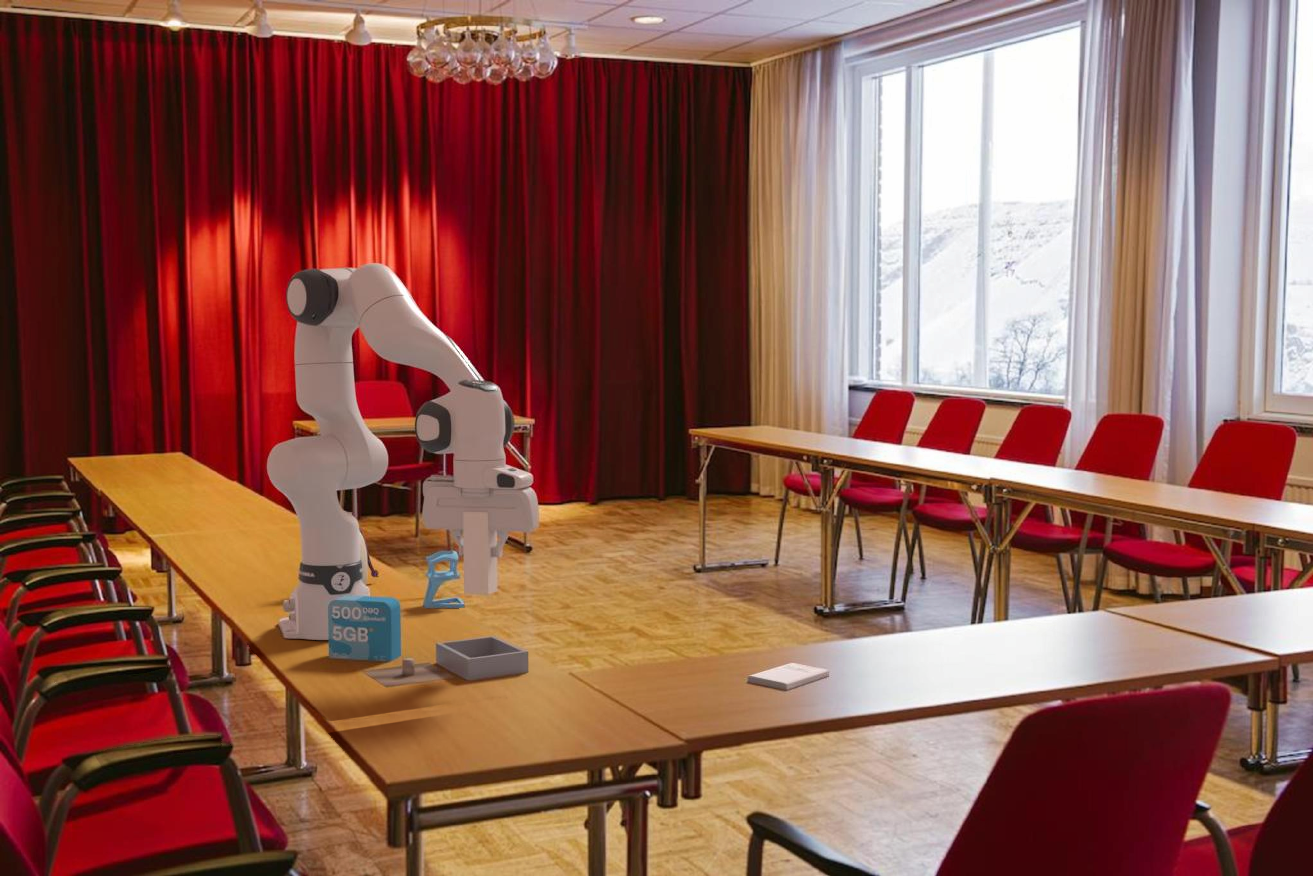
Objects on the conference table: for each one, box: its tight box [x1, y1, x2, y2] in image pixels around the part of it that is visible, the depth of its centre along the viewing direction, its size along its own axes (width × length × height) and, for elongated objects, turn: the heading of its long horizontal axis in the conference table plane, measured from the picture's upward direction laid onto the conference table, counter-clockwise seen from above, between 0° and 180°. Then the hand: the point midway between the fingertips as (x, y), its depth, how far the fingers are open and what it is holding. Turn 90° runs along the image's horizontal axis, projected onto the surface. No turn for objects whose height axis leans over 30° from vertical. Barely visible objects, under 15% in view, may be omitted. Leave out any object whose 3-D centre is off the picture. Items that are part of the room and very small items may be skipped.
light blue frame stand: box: [422, 549, 466, 609], centre depth 292 cm, size 8×8×12 cm
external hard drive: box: [747, 662, 830, 691], centre depth 231 cm, size 2×8×12 cm
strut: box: [462, 511, 499, 596], centre depth 231 cm, size 4×4×14 cm
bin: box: [435, 635, 529, 682], centre depth 232 cm, size 14×11×5 cm
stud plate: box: [362, 657, 456, 688], centre depth 228 cm, size 12×12×4 cm
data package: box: [327, 595, 402, 662], centre depth 240 cm, size 12×4×12 cm, turn 77°
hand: (480, 556), depth 231 cm, fingers closed on strut, 4 cm apart
